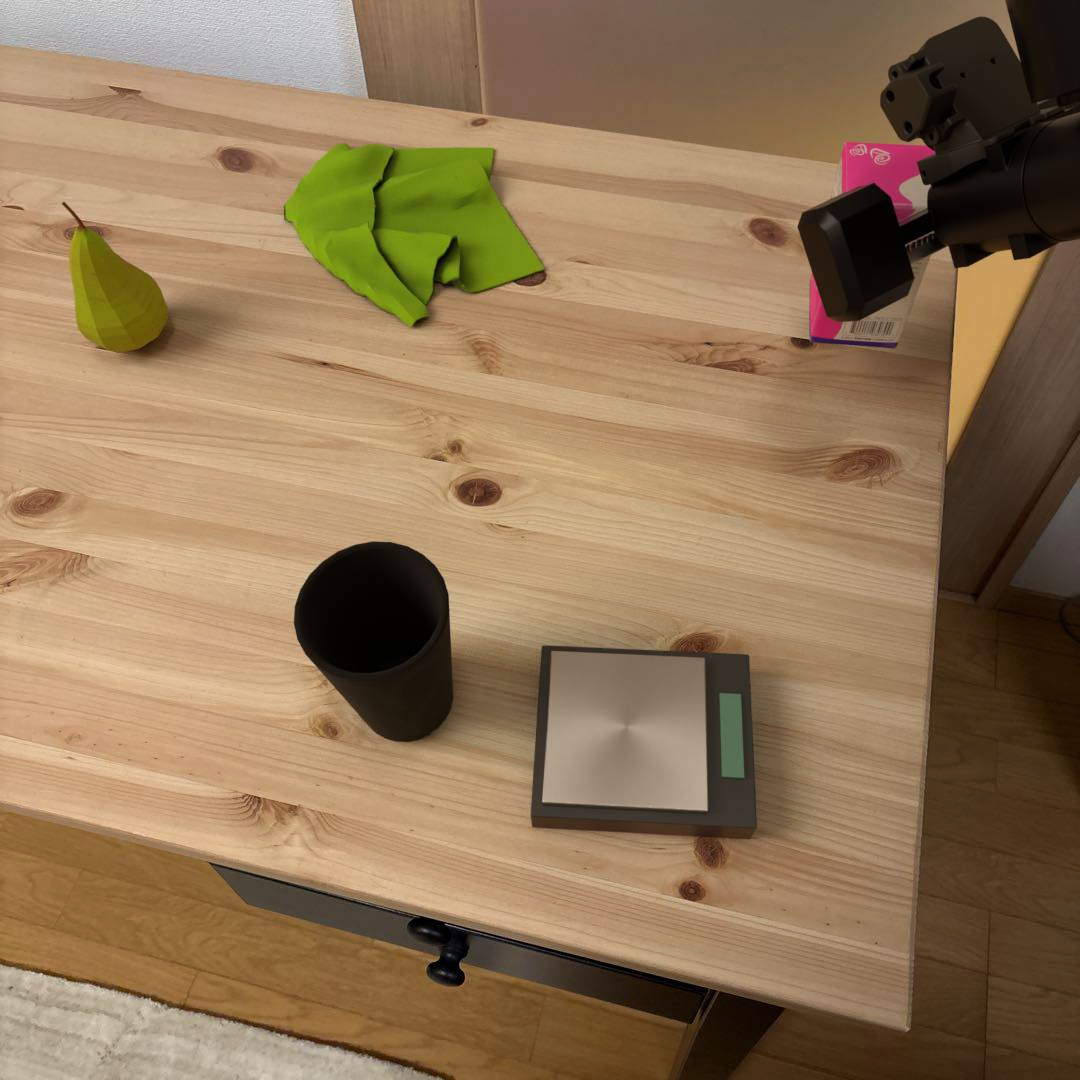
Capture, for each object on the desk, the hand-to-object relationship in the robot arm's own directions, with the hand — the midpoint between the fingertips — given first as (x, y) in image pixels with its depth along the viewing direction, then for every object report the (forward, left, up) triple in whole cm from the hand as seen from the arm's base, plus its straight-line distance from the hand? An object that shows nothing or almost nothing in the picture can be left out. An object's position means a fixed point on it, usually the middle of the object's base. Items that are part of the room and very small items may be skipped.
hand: (861, 224), depth 62 cm
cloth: (+33, -1, -12) cm, 35 cm away
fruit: (+48, +16, -12) cm, 52 cm away
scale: (+3, +33, -11) cm, 35 cm away
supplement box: (-1, +1, -7) cm, 7 cm away
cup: (+17, +35, -12) cm, 40 cm away
